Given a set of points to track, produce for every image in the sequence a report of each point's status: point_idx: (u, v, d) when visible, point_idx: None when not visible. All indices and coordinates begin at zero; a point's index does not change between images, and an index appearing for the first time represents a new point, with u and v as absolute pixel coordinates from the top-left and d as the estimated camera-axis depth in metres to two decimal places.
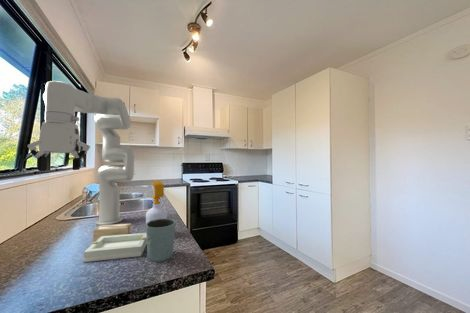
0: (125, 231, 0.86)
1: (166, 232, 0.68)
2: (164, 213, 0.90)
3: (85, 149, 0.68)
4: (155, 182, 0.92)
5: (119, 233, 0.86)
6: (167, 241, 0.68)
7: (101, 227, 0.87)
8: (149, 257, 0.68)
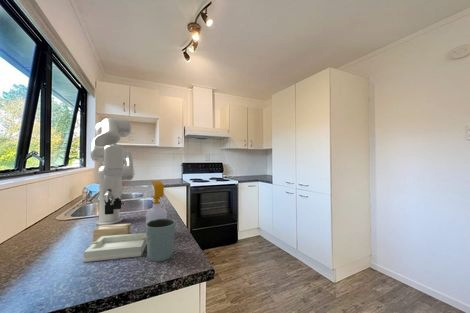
0: (125, 231, 0.86)
1: (166, 232, 0.68)
2: (164, 213, 0.90)
3: None
4: (155, 182, 0.92)
5: (119, 233, 0.86)
6: (167, 241, 0.68)
7: (101, 227, 0.87)
8: (149, 257, 0.68)
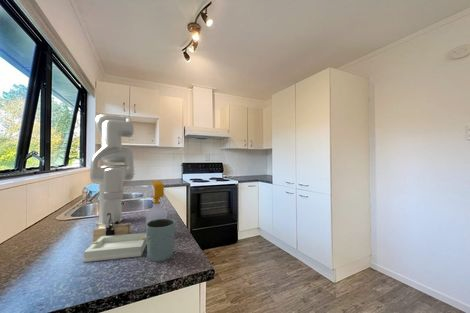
0: (125, 231, 0.86)
1: (166, 232, 0.68)
2: (164, 213, 0.90)
3: None
4: (155, 182, 0.92)
5: (119, 233, 0.86)
6: (167, 241, 0.68)
7: (101, 227, 0.87)
8: (149, 257, 0.68)
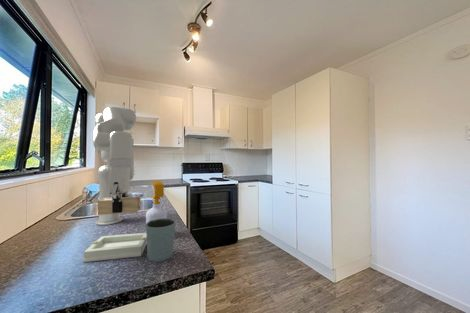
0: (134, 203, 0.75)
1: (166, 232, 0.68)
2: (164, 213, 0.90)
3: None
4: (155, 182, 0.92)
5: (128, 205, 0.74)
6: (167, 241, 0.68)
7: (107, 199, 0.75)
8: (149, 257, 0.68)
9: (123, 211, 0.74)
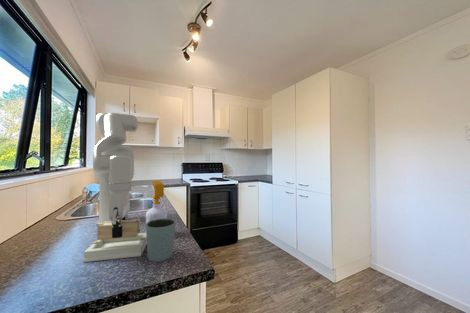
0: (134, 227, 0.75)
1: (166, 232, 0.68)
2: (164, 213, 0.90)
3: None
4: (155, 182, 0.92)
5: (127, 230, 0.74)
6: (167, 241, 0.68)
7: (106, 223, 0.75)
8: (149, 257, 0.68)
9: (123, 236, 0.74)
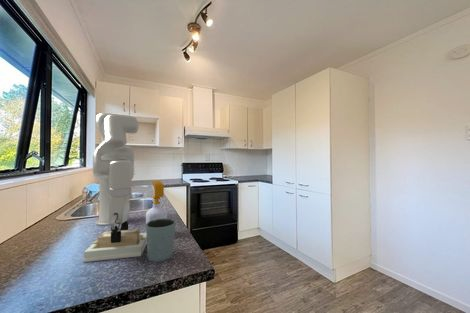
0: (134, 238, 0.75)
1: (166, 232, 0.68)
2: (164, 213, 0.90)
3: None
4: (155, 182, 0.92)
5: (127, 241, 0.74)
6: (167, 241, 0.68)
7: (106, 234, 0.75)
8: (149, 257, 0.68)
9: None
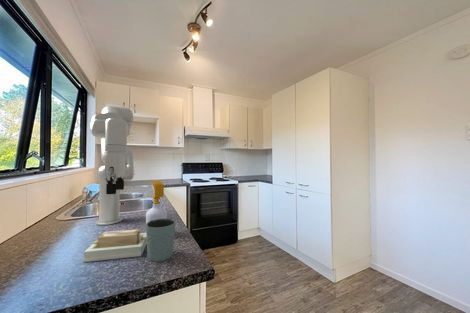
0: (134, 238, 0.75)
1: (166, 232, 0.68)
2: (164, 213, 0.90)
3: None
4: (155, 182, 0.92)
5: (127, 241, 0.74)
6: (167, 241, 0.68)
7: (106, 234, 0.75)
8: (149, 257, 0.68)
9: None
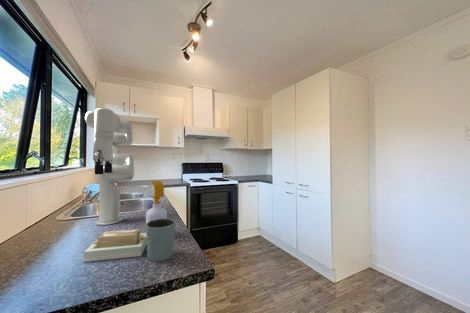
0: (134, 238, 0.75)
1: (166, 232, 0.68)
2: (164, 213, 0.90)
3: None
4: (155, 182, 0.92)
5: (127, 241, 0.74)
6: (167, 241, 0.68)
7: (106, 234, 0.75)
8: (149, 257, 0.68)
9: None
